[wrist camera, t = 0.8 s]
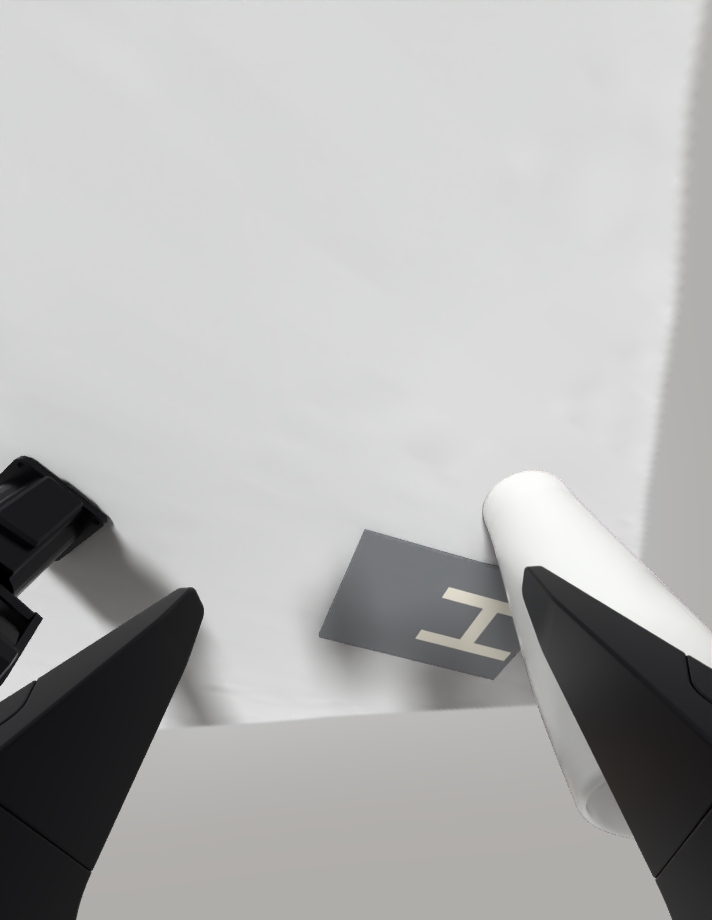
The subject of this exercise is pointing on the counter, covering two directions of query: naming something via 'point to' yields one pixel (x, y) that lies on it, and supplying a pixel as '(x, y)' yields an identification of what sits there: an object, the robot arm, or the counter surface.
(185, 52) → the counter surface
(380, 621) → the board
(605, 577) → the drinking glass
